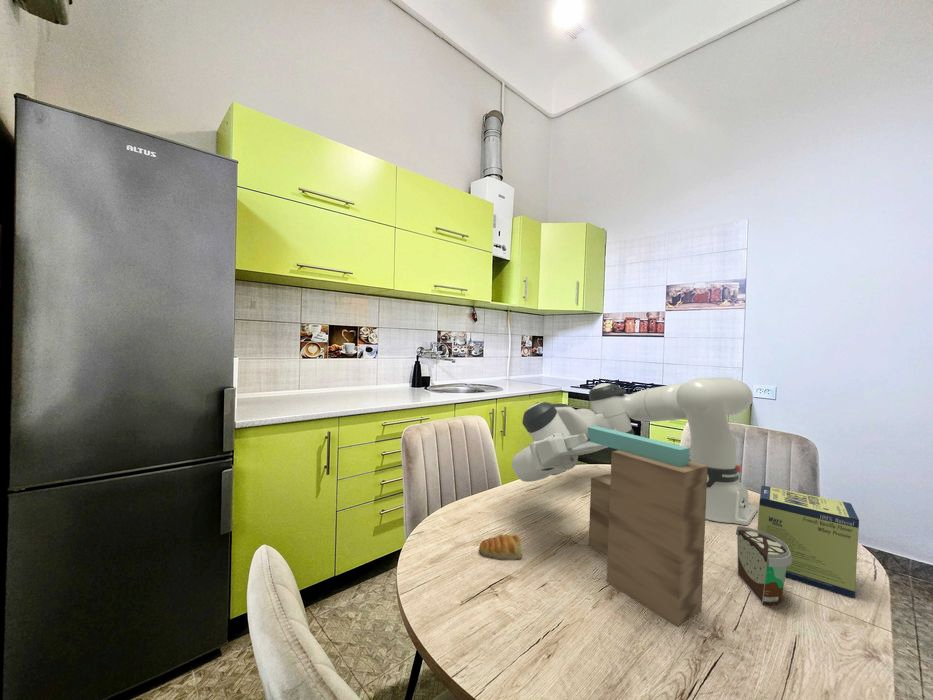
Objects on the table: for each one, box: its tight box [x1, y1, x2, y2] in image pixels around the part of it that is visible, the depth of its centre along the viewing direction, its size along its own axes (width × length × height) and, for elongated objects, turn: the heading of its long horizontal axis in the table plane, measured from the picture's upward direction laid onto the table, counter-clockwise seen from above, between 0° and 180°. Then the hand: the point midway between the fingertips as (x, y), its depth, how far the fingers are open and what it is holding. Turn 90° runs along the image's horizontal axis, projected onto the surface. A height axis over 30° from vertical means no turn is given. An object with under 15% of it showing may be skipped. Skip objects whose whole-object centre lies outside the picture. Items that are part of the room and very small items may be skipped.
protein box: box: [756, 485, 860, 599], centre depth 82 cm, size 10×16×16 cm
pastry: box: [478, 534, 523, 561], centre depth 86 cm, size 9×7×4 cm
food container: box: [735, 525, 792, 607], centre depth 75 cm, size 12×6×10 cm, turn 168°
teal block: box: [588, 426, 690, 467], centre depth 76 cm, size 3×20×3 cm, turn 33°
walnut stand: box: [588, 449, 707, 627], centre depth 80 cm, size 18×25×26 cm
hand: (601, 434), depth 83 cm, fingers open, 8 cm apart
